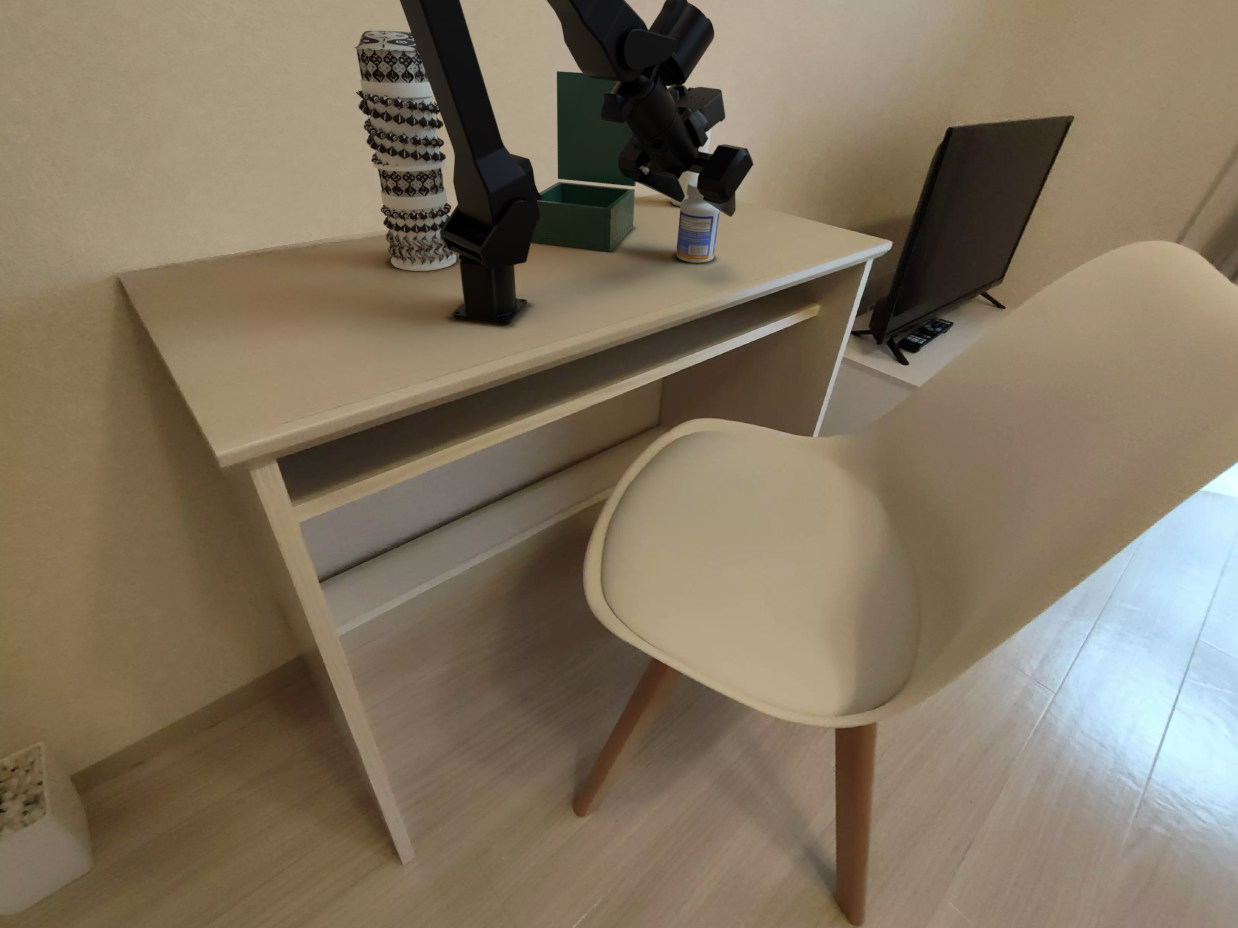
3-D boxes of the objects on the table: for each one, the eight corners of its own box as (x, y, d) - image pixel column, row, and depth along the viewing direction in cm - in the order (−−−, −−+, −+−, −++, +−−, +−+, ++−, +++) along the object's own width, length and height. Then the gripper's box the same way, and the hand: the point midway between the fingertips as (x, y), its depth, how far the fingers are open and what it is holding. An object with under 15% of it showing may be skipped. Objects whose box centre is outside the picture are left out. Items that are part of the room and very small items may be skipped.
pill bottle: (689, 249, 90) (696, 178, 84) (720, 257, 87) (730, 184, 81) (668, 257, 86) (674, 183, 81) (700, 266, 84) (708, 190, 78)
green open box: (609, 251, 87) (610, 209, 84) (528, 241, 90) (525, 200, 86) (633, 227, 98) (634, 189, 95) (559, 219, 101) (558, 181, 97)
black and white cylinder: (372, 264, 79) (324, 29, 65) (420, 246, 86) (387, 30, 72) (428, 276, 76) (391, 33, 62) (473, 257, 83) (449, 33, 69)
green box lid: (640, 76, 86) (647, 76, 90) (556, 71, 89) (566, 71, 92) (634, 186, 94) (641, 182, 98) (557, 179, 97) (566, 175, 100)
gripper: (757, 66, 65) (796, 168, 78) (638, 55, 76) (689, 146, 89) (699, 154, 65) (747, 241, 78) (589, 131, 76) (647, 211, 89)
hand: (706, 206), depth 83 cm, fingers open, 9 cm apart
